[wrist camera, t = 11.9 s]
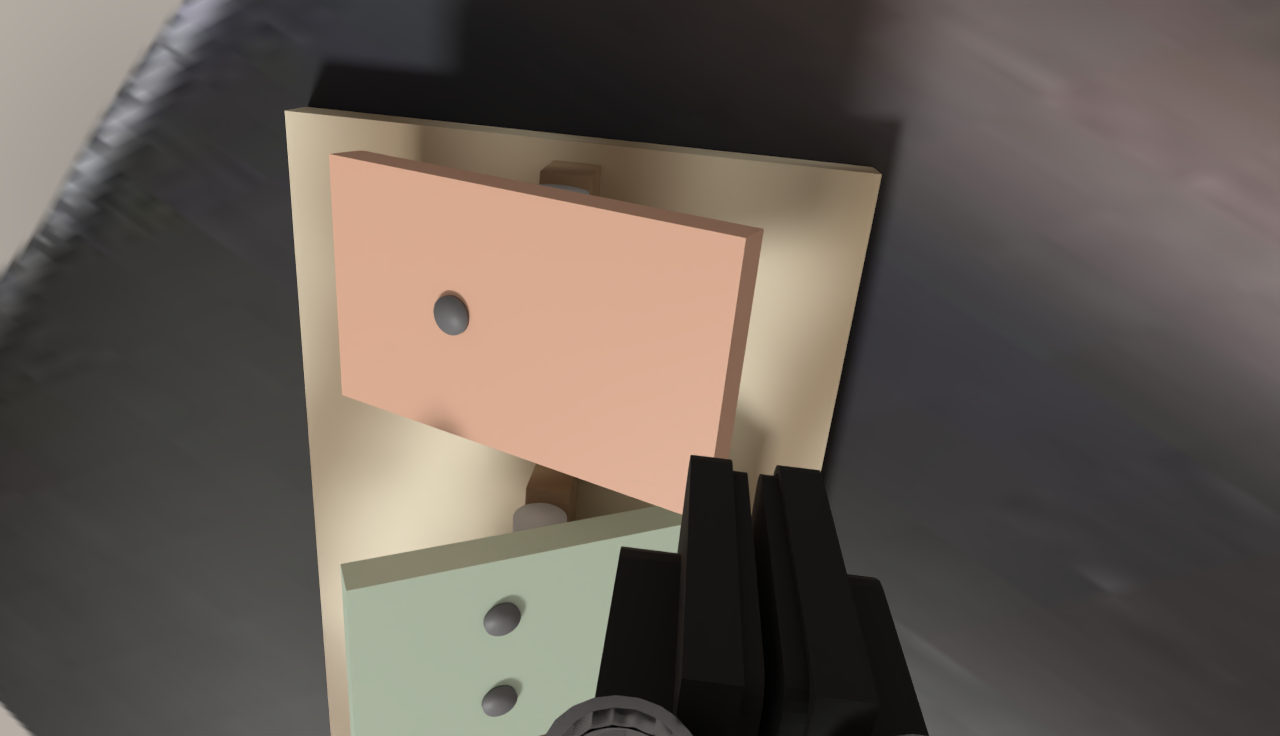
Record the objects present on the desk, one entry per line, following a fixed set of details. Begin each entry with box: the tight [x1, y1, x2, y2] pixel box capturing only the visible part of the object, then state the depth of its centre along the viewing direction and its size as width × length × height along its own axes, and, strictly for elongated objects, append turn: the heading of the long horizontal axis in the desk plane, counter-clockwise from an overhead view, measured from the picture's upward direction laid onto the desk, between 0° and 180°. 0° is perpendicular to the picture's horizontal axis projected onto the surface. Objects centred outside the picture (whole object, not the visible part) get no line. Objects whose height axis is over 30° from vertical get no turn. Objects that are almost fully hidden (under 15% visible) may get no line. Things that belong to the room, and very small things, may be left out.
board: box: [285, 107, 882, 736], centre depth 25 cm, size 15×24×3 cm, turn 175°
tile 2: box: [340, 503, 682, 736], centre depth 22 cm, size 10×6×2 cm, turn 84°
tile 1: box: [329, 150, 764, 515], centre depth 18 cm, size 10×6×2 cm, turn 86°
